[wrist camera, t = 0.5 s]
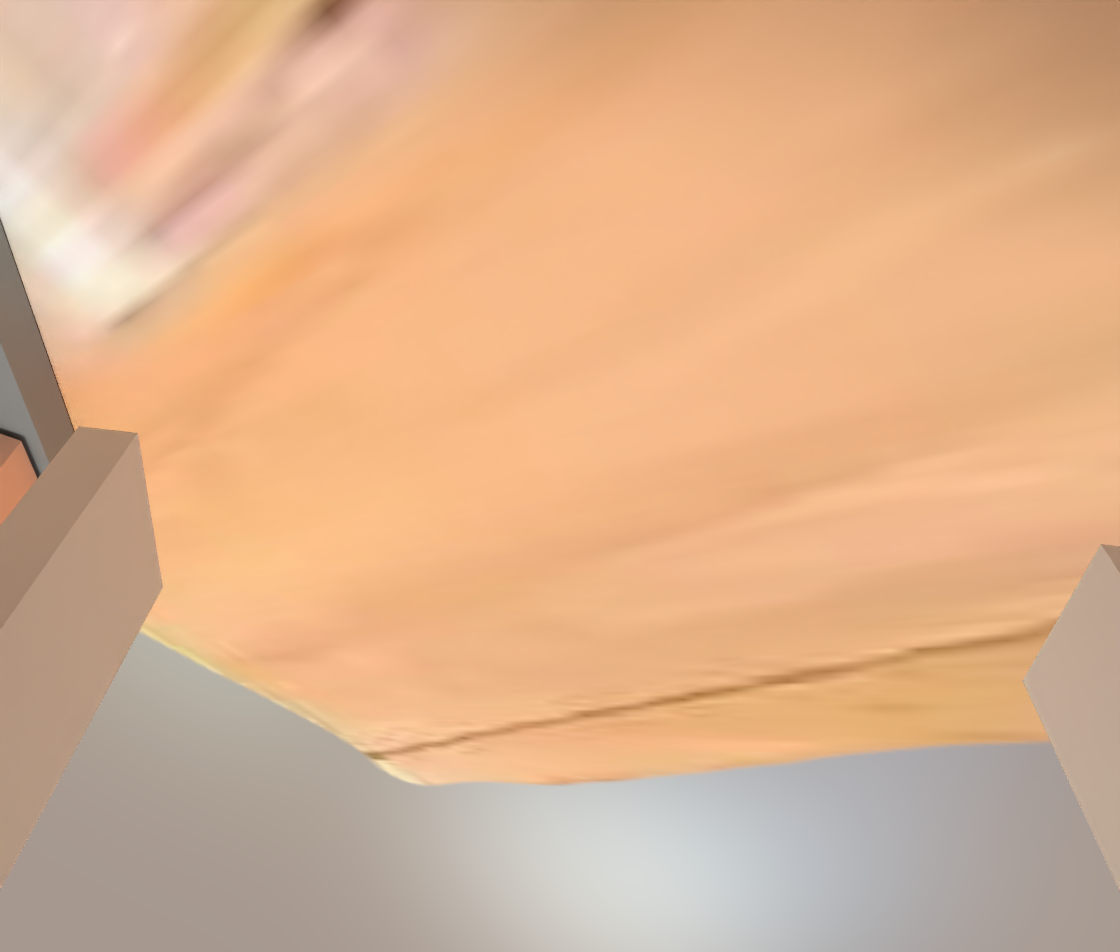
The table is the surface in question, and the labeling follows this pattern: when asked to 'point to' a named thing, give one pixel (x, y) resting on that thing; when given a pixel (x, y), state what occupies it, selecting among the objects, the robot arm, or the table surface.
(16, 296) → the grey l-shaped bracket
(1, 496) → the button terracotta
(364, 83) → the table surface
